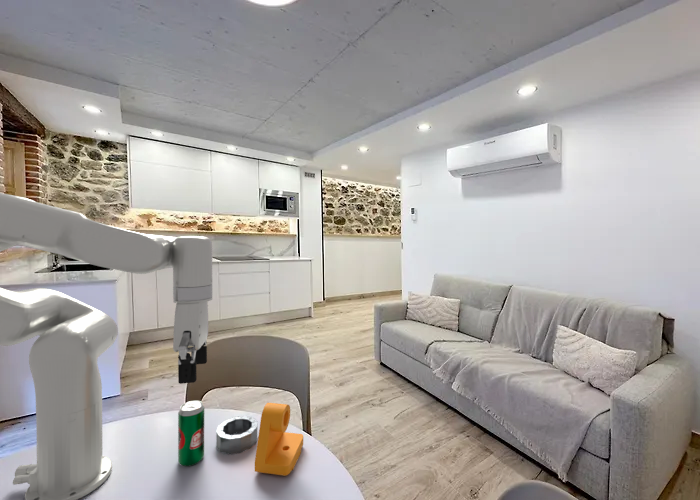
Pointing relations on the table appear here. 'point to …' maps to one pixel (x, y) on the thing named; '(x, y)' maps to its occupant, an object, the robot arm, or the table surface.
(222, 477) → the table surface
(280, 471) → the bracket
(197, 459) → the soda can
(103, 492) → the table surface
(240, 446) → the rosette ring
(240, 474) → the table surface
